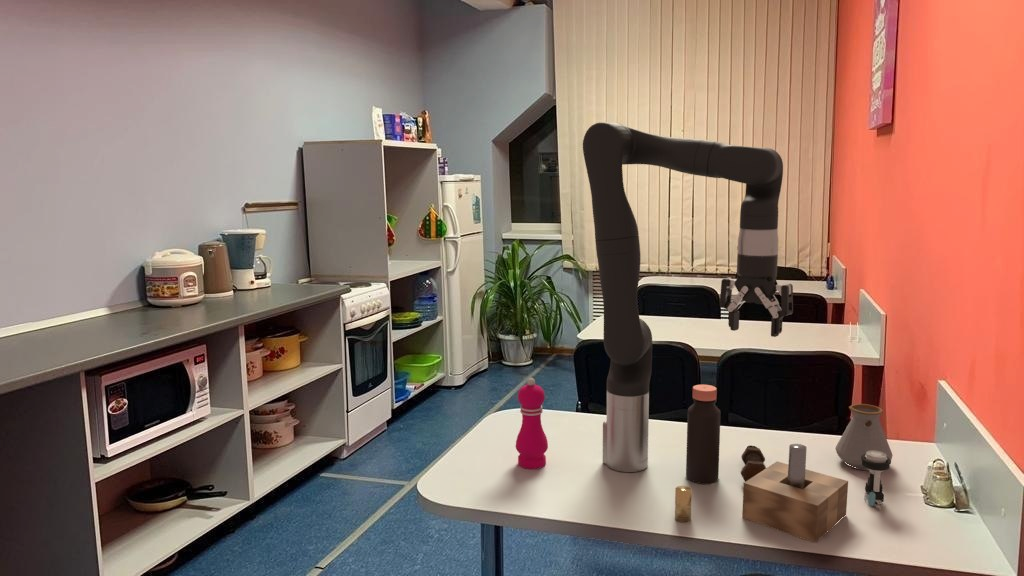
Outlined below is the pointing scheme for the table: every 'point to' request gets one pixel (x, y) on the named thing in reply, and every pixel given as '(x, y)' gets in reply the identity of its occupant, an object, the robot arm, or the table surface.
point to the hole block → (795, 502)
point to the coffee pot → (862, 436)
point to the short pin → (683, 504)
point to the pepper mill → (531, 427)
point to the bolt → (752, 462)
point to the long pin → (797, 465)
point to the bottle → (703, 436)
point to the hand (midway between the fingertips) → (754, 332)
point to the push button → (875, 476)
